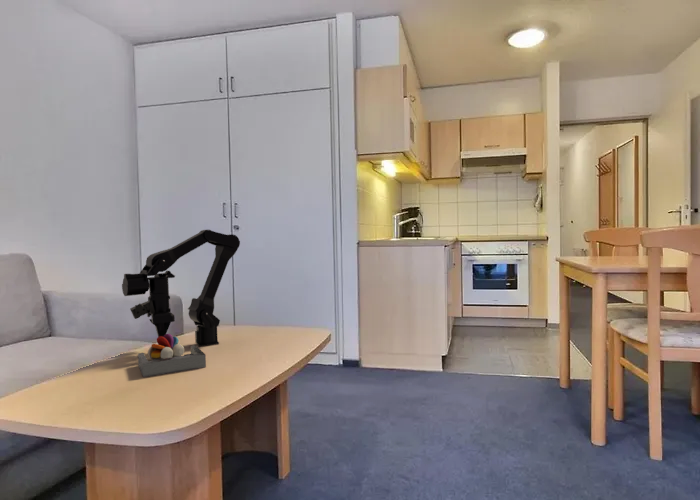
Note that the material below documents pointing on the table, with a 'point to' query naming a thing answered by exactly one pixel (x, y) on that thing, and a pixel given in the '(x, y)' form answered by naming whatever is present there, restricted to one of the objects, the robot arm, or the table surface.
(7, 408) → the table surface
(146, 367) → the tray
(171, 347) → the multicolored petal rattle
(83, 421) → the table surface
